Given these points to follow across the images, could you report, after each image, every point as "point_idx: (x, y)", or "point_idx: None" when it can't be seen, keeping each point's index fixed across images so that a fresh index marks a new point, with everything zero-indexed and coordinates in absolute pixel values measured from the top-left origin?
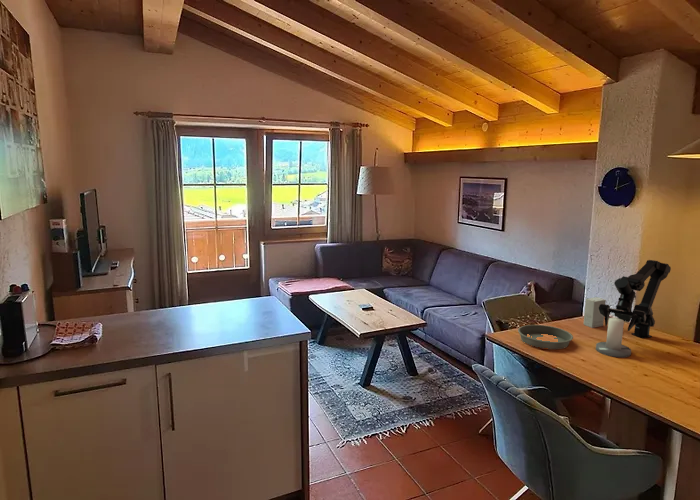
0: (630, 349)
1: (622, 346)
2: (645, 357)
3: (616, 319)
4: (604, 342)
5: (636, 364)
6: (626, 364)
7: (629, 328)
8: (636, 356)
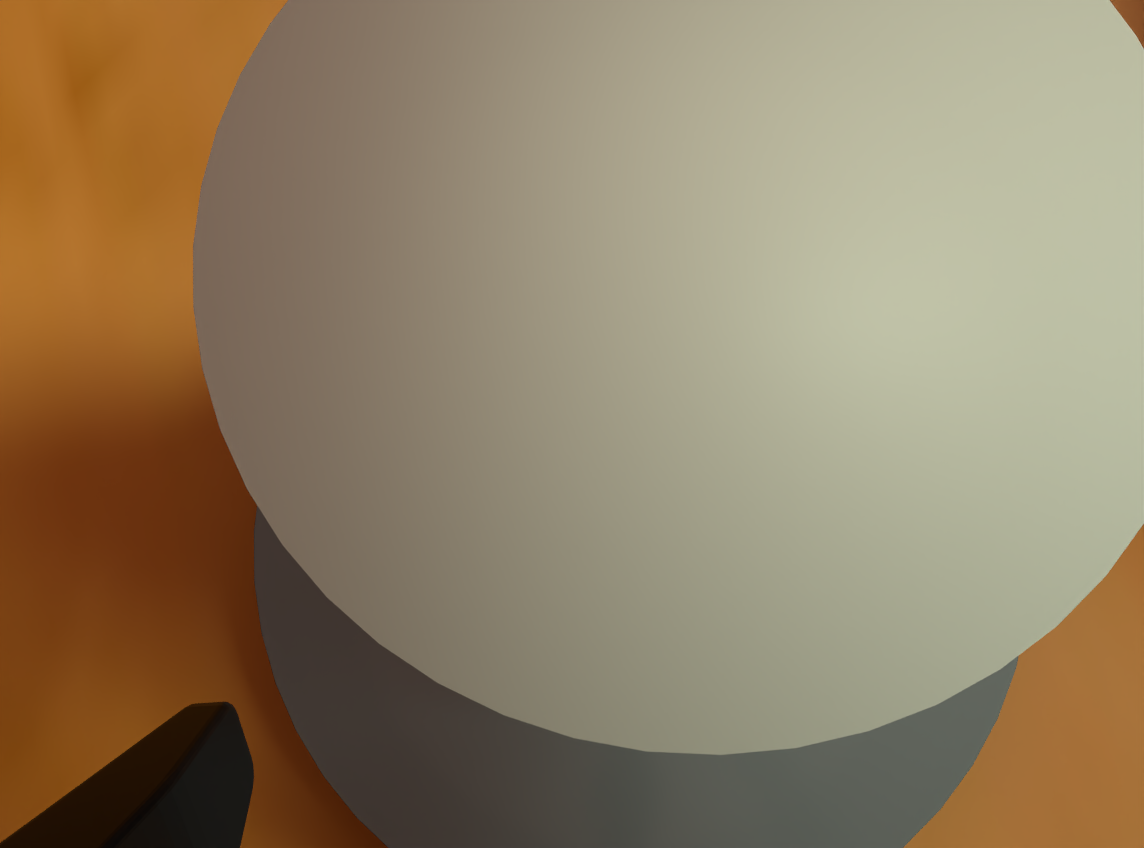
0: (297, 704)
1: (504, 777)
2: (21, 726)
3: (731, 355)
4: (937, 731)
5: (86, 181)
6: (222, 48)
7: (132, 757)
8: (181, 633)
